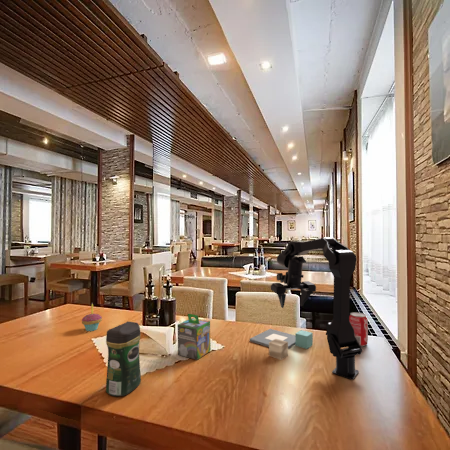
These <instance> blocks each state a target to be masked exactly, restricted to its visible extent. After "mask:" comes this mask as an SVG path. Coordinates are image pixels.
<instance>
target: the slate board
mask: <svg viewBox="0 0 450 450" xmlns="http://www.w3.org/2000/svg"><path fill="white" fill-rule="evenodd" d="M274 339H279V340H283V341H286V342H288V350H290V349H291V348H293V347H294V346H295V334H292V333H287V332H283V331H280V330H277V329H272V328H268V329H267V330H264V331H263V332H260V333H258V334H256V335H254V336H253V337H250V338H249V342H251V343H254V344H257V345H260V346H264V347H267V348H269V342H271V341H273V340H274Z"/></svg>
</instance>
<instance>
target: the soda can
mask: <svg viewBox="0 0 450 450" xmlns="http://www.w3.org/2000/svg"><path fill="white" fill-rule="evenodd" d="M366 316H367V315H366V314H365V313H364V312H363V313H362V312H356V311H355V312H353V311H352V312H350V314H349V321H350V323H351V325H352V327H353V328H354V334H355V338H356V340H357V341H358V343H359V345H360V346H361V347H365V346H366V345H368V340H369V335H368V334H369V332H368V331H369V330H368V329H369V326H368V325H369V323H368V322H369V321H368V318H367V317H366Z"/></svg>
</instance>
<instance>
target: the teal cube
mask: <svg viewBox="0 0 450 450" xmlns="http://www.w3.org/2000/svg"><path fill="white" fill-rule="evenodd" d="M313 334H314V333H313V332H311V331H308V330H307V331H306V330H302V329H301V330H299V331H297V332H295V333H294V335H295V345H294V346H295V347H299V348H303V349H306V350H309V349H310V348H311V347H312V346H313V344H314V343H313V342H314V340H313V339H314V338H313V337H314V335H313Z"/></svg>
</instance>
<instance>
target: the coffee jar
mask: <svg viewBox="0 0 450 450" xmlns="http://www.w3.org/2000/svg"><path fill="white" fill-rule="evenodd" d="M141 335H142V334H141V327H140V325H139V323H138V322H133V321H126V322H124V323H122V324H121V323H120V324H118V325H116V326H114V327H112V328H109V329H108V330H107V331H106V338H105V339H106V340H105V343H106V344H105V345H106V347H107V353H108V355H107V369H106V382H105V391H106V393H107V394H108V395H110V396H112V397H124V396H127V395H128V394H130V393H132V392H133V391H134V390H135V389H136V388H138V387H139V385H140V384H141V383H142V382H141V381H142V378H141V377H142V376H141V375H142V374H141V363H140V340H141Z"/></svg>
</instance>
